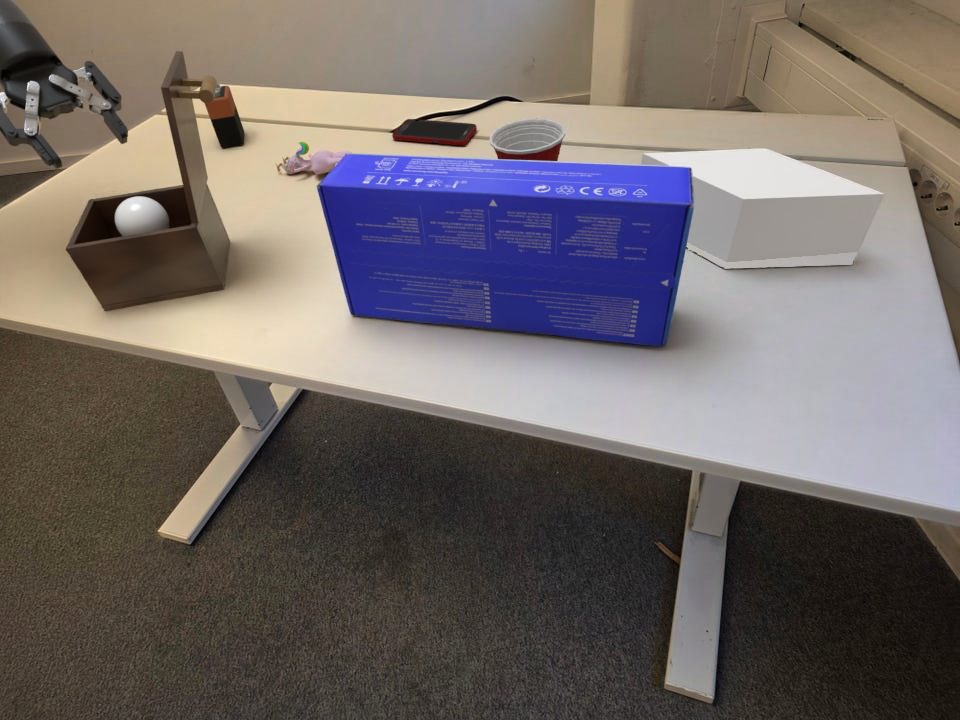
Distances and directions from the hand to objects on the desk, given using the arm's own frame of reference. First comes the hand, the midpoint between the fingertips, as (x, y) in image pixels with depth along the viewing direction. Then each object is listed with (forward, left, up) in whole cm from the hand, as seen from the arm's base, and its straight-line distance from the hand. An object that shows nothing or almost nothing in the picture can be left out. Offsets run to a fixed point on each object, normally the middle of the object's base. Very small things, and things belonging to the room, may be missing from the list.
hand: (93, 152), depth 77 cm
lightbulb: (+4, -5, -16) cm, 17 cm away
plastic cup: (+57, -4, -17) cm, 59 cm away
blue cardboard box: (+47, -27, -17) cm, 57 cm away
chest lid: (+12, -5, +2) cm, 14 cm away
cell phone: (+48, +27, -17) cm, 57 cm away
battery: (+10, +39, -17) cm, 44 cm away
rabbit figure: (+26, +19, -17) cm, 36 cm away
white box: (+81, -22, -17) cm, 86 cm away
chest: (+4, -5, -17) cm, 18 cm away
